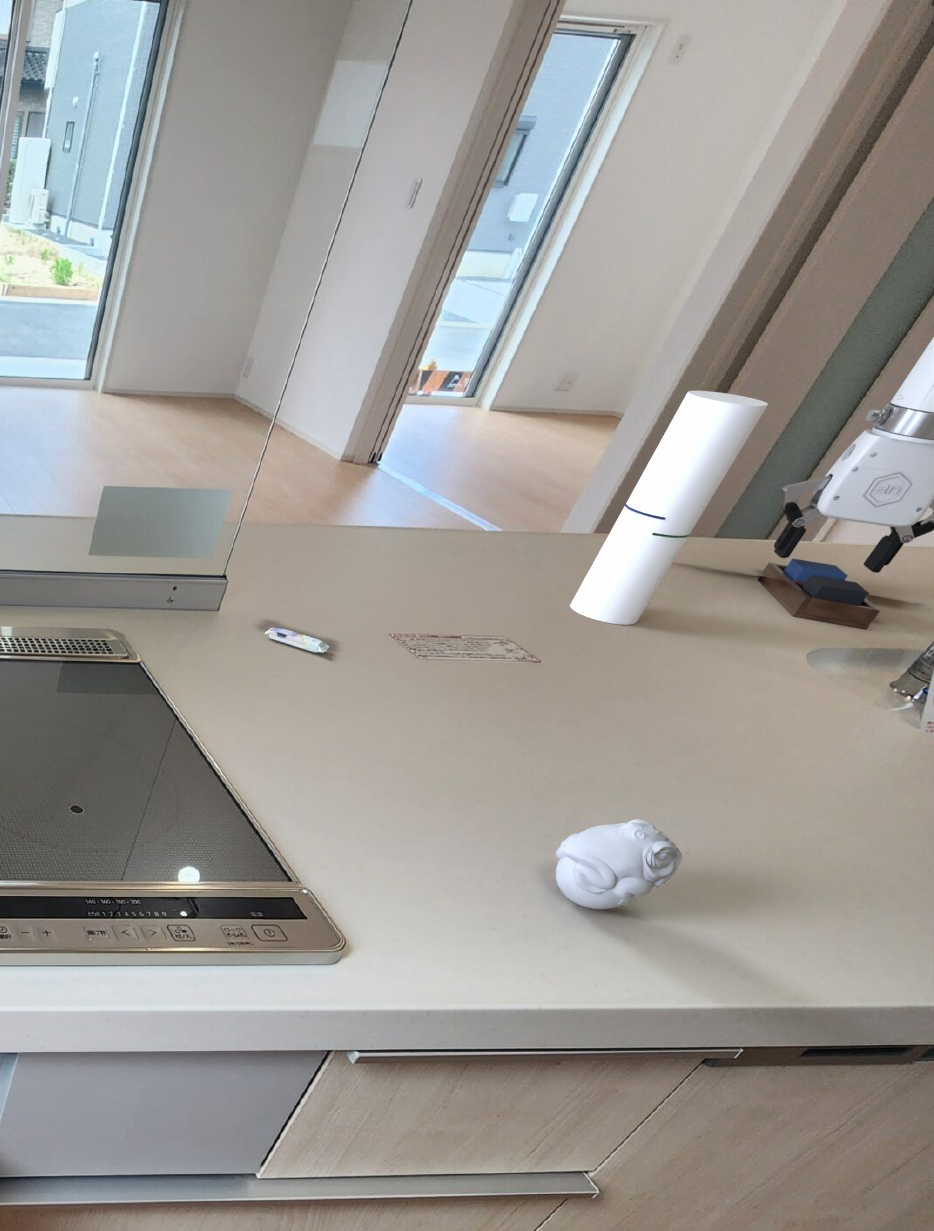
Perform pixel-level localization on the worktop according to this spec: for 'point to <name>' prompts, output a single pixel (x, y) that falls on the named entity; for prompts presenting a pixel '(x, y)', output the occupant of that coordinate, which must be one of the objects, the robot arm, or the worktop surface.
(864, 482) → the robot arm
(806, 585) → the pad charcoal
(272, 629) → the granola bar
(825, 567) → the pad blue
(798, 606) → the holder
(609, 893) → the frog figurine
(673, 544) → the cylindrical container
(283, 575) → the worktop surface
